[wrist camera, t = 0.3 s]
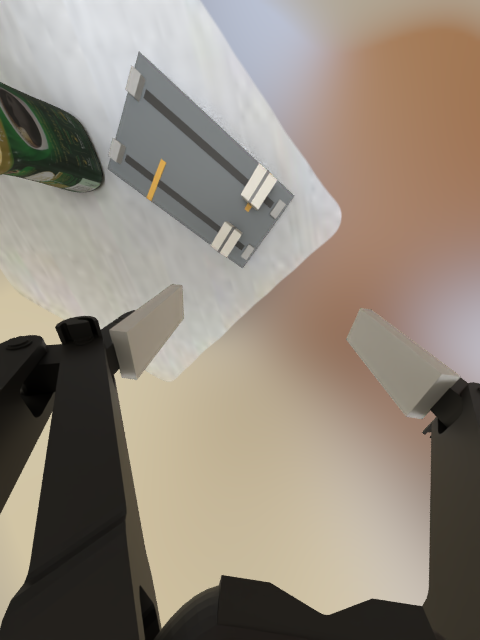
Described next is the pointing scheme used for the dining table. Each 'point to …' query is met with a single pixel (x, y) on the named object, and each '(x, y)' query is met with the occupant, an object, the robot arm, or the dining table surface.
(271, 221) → the console
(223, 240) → the fader
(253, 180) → the fader
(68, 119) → the coffee jar
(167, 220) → the dining table surface
